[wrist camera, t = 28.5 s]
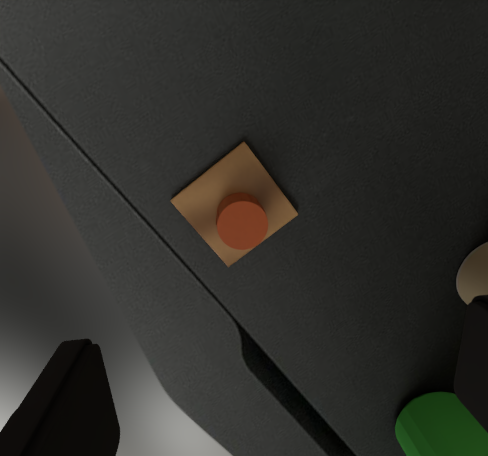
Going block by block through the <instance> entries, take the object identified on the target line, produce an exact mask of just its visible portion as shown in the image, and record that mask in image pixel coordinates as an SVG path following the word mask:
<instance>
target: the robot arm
mask: <svg viewBox="0 0 488 456" xmlns="http://www.w3.org/2000/svg"><path fill="white" fill-rule="evenodd" d="M454 391H455V394H456V396H457V398H458V399H459V400H460V402H461V403H462V404H463V405H464V406H465V407H466V409H467V410H468V411H469V412H470V413H471V414H472V415H473V417H474V418H475V419H476V420H477V421H478V422H479V424H480V425H481V426H482V427H483V428H484V429H485V430H486V432H487V433H488V295H479V296H476V297H474V298H473V299H472V301H471V303H469V304H468V305H467V308H466V314H465V320H464V326H463V332H462V337H461V343H460V349H459V355H458V361H457V367H456V372H455V378H454ZM119 439H120V427H119V423H118V419H117V415H116V411H115V407H114V403H113V399H112V394H111V390H110V386H109V382H108V378H107V375H106V370H105V366H104V362H103V358H102V354H101V350H100V347H99V345H98V344H92V342H91V340H89V339H81V340H71V341H64V342H62V343H61V344H60V346H59V347H58V348H57V350H56V351H55V353H54V354H53V356H52V357H51V359H50V360H49V362H48V363H47V365H46V366H45V368H44V369H43V371H42V373H41V374H40V376H39V377H38V379H37V380H36V382H35V383H34V385H33V386H32V388H31V389H30V391H29V392H28V394H27V395H26V397H25V398H24V400H23V401H22V403H21V404H20V406H19V407H18V409H17V410H16V411H15V412H14V413H13V414H12V416H11V417H10V418H9V420H8V421H7V423H6V424H5V426H4V427H3V429H2V430H1V432H0V456H116V452H117V449H118V445H119Z"/></svg>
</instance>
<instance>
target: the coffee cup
mask: <svg viewBox="0 0 488 456" xmlns="http://www.w3.org/2000/svg"><path fill="white" fill-rule="evenodd" d="M456 287H457V291H458V293H459V295H460V297H461V298H462V300H463V301H464V302H465V303H466V304H467V305H468V304H469V303H471V301H472V299H473V298H474V297H476V296H479V295H488V242H487V243H484V244H482V245H481V246H479V247H477V248H476V249H474V250H473V251H472V252H471V253H470V254H469V255H468V256H467V257H466V258H465V260H464V261H463V263H462V264H461V266H460V268H459V270H458V274H457V278H456Z"/></svg>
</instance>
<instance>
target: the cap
mask: <svg viewBox="0 0 488 456" xmlns="http://www.w3.org/2000/svg"><path fill="white" fill-rule="evenodd" d="M265 213H266V212H265V211H264V209H263V207H262V205H260V203H259V202H258V200H257V199H256V198H254V197H253V196H251V195H249V194H246V193H239V192H238V193H234V194H231V195H229V196H227V197H226V198H224V199H223V200H222V202H221V203H220V204H219V206H218V208H217V217H216V226H217V231H218V234H219V236H220V238H221V240H222V241H223V242H224V243H225V244H226V245H227V246H229V247H231V248H233V249H237V250H247V249H250V248H253V247H255V246H257V245H258V244H259V243H260V242H261V241H262V240H263V239H264V238H265V236H266V234H267V230H268V219H267V216H266V214H265Z"/></svg>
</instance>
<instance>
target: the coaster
mask: <svg viewBox="0 0 488 456" xmlns="http://www.w3.org/2000/svg"><path fill="white" fill-rule="evenodd" d="M238 192H239V193H246V194H249V195H251V196H253V197H254V198H256V199H257V200H258V202H259V203H260V205H262V207H263V209H264V211H265V212H266V213H265V214H266V216H267V219H268V230H267V234H266V236H265V238H264V239H263V240H262V241H264V240H265V239H266V238H268V237H269V236H270V235H272V234H273V233H274V232H276V231H277V230H278V229H280V228H281V227H282V226H284V225H285V224H286V223H288V222H289V221H290V220H292V219H293V218H294V217H296V216H297V215H298V213H297V211H296V210H295V209H294V207H293V206H292V205H291V203H290V202H289V201H288V199H287V198H286V197H285V195H284V194H283V193H282V191H281V190H280V189H279V187H278V186H277V185H276V183H275V182H274V181H273V179H272V178H271V176H270V175H269V174H268V172H267V171H266V170H265V168H264V167H263V166H262V164H261V163H260V162H259V160H258V159H257V158H256V156H255V155H254V154H253V152H252V151H251V150H250V148H249V147H248V146H247V144H246V143H245V142H244V141H243V142H242V143H241V144H239V145H238V146H237V147H236V148H234V149H233V150H232V151H231V152H229V153H228V154H227V155H226V156H224V157H223V158H222V159H221V160H219V161H218V162H217V163H216V164H214V165H213V166H212V167H211V168H209V169H208V170H207V171H206V172H205V173H203V174H202V175H201V176H200V177H198V178H197V179H196V180H195V181H193V182H192V183H191V184H190V185H188V186H187V187H186V188H185V189H183V190H182V191H181V192H180V193H178V194H177V195H176V196H175V197H173V198H172V199H171V200H170V201H171V202H172V204H173V205H174V206H175V207H176V208H177V209H178V210H179V211H180V213H181V214H182V215H183V216H184V217H185V218H186V219H187V221H188V222H189V223H190V224H191V225H192V226H193V227H194V229H195V230H196V231H197V232H198V233H199V234H200V235H201V237H202V238H203V239H204V240H205V241H206V242H207V243H208V244H209V246H210V247H211V248H212V249H213V250H214V251H215V252H216V254H217V255H218V256H219V257H220V258H221V259H222V260H223V262H224V263H225V264H226V265H227V266H228V267H229V266H230V265H232V264H233V263H234V262H236V261H237V260H238V259H240V258H241V257H242V256H244V255H245V254H246V253H248V252H249V251H250V250H252V249H253V248H254V247H253V248H250V249H247V250H237V249H233V248H231V247H229V246H227V245H226V244H225V243H224V242H223V241H222V240H221V238H220V236H219V234H218V231H217V226H216V217H217V208H218V206H219V204H220V203H221V202H222V200H223V199H224V198H226V197H227V196H229V195H231V194H234V193H238ZM262 241H261V242H262ZM261 242H260V243H261ZM260 243H259V244H260ZM255 247H256V246H255Z"/></svg>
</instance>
